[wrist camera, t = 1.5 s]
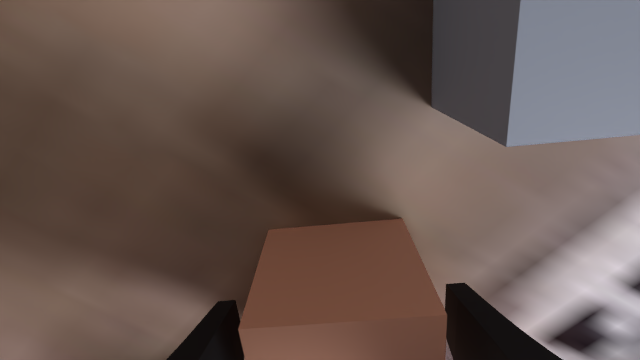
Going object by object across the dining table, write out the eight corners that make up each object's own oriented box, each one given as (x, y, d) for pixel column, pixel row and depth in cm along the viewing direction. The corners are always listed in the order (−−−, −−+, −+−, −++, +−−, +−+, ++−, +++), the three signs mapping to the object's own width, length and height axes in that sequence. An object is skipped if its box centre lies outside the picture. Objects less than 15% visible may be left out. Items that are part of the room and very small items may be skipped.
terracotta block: (403, 322, 15) (441, 452, 10) (286, 330, 15) (268, 461, 10) (402, 217, 13) (446, 314, 8) (268, 228, 13) (238, 329, 8)
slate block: (586, 91, 11) (778, 122, 6) (430, 106, 11) (506, 146, 7) (619, -96, 9) (914, -242, 5) (433, -75, 10) (538, -192, 5)
